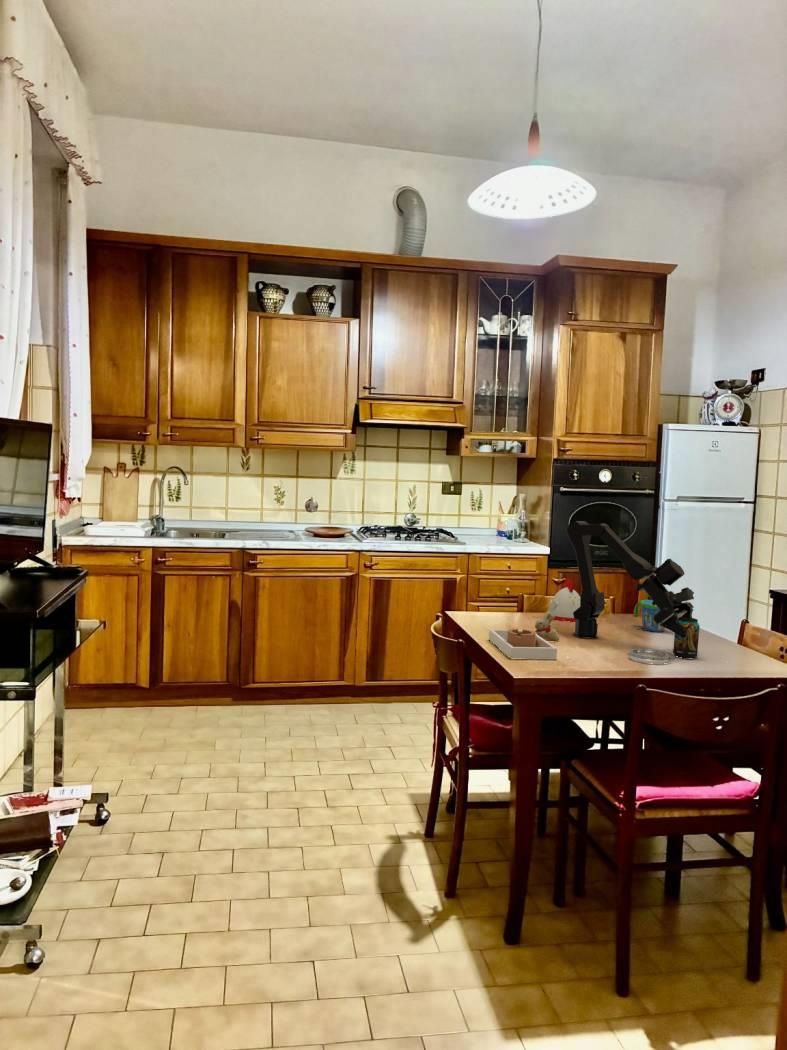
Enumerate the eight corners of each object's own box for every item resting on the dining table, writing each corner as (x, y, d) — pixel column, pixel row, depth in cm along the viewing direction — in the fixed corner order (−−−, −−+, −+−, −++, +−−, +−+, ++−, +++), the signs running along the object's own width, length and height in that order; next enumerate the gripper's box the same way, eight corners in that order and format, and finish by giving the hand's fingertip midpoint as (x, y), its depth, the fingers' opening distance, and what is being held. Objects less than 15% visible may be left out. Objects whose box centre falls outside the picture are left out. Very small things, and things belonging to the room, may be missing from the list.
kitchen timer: (556, 622, 284) (559, 582, 283) (541, 614, 298) (544, 576, 296) (591, 622, 287) (594, 582, 286) (575, 614, 301) (577, 576, 299)
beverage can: (680, 659, 235) (684, 621, 234) (668, 654, 242) (671, 616, 241) (701, 659, 237) (704, 621, 236) (688, 653, 243) (691, 616, 242)
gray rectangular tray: (510, 659, 225) (511, 647, 224) (488, 640, 248) (489, 629, 248) (556, 660, 227) (557, 648, 227) (530, 640, 250) (530, 630, 250)
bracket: (533, 658, 228) (535, 635, 227) (505, 656, 230) (506, 633, 229) (535, 645, 245) (537, 624, 245) (509, 643, 247) (511, 621, 247)
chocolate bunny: (535, 637, 256) (537, 607, 255) (559, 640, 254) (561, 610, 253) (533, 641, 251) (535, 610, 250) (558, 643, 249) (560, 613, 248)
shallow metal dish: (638, 664, 226) (639, 658, 226) (620, 654, 238) (620, 647, 238) (678, 665, 228) (678, 658, 228) (657, 654, 240) (658, 648, 240)
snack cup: (681, 633, 275) (683, 605, 274) (663, 636, 269) (665, 607, 268) (644, 624, 287) (646, 597, 287) (626, 627, 281) (628, 599, 280)
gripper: (666, 581, 233) (700, 624, 227) (689, 576, 247) (722, 616, 241) (639, 603, 239) (671, 645, 232) (663, 597, 253) (694, 636, 246)
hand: (691, 635), depth 238 cm, fingers open, 9 cm apart
